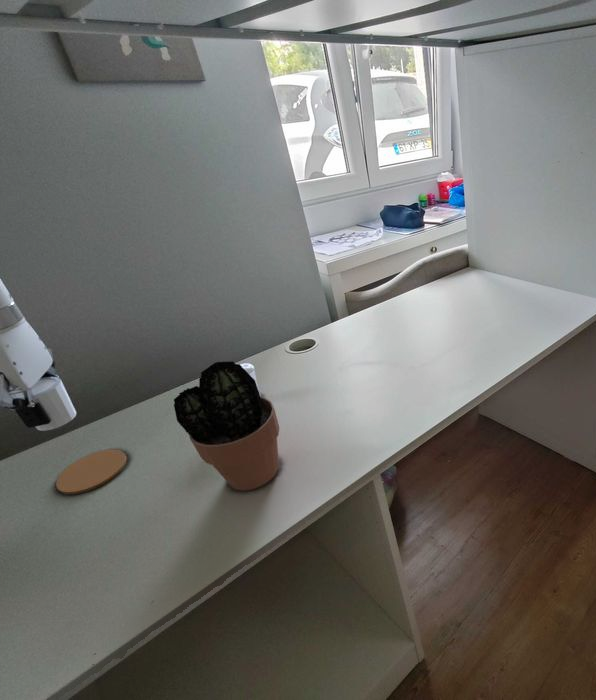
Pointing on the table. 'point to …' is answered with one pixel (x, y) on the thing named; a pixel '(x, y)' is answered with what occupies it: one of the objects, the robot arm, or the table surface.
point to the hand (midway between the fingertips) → (49, 410)
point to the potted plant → (231, 425)
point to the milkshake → (250, 372)
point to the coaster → (91, 471)
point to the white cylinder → (52, 402)
